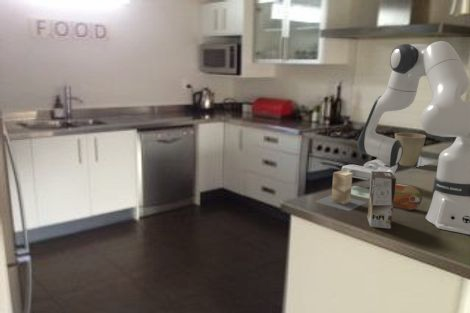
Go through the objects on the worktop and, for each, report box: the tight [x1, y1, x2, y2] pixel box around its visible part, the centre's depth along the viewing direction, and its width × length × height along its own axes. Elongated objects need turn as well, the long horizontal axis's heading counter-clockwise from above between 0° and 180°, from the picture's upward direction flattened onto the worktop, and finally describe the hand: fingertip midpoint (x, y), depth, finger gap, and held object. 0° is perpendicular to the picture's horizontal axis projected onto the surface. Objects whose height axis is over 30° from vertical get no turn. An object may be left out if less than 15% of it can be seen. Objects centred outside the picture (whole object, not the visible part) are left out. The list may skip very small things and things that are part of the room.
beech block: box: [331, 170, 353, 205], centre depth 150 cm, size 5×5×11 cm
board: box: [351, 185, 370, 200], centre depth 163 cm, size 14×12×1 cm
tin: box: [393, 183, 423, 211], centre depth 147 cm, size 15×3×8 cm, turn 57°
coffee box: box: [366, 171, 397, 230], centre depth 130 cm, size 9×6×16 cm
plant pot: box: [394, 132, 427, 167], centre depth 214 cm, size 15×15×16 cm
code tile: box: [314, 194, 368, 212], centre depth 152 cm, size 14×14×1 cm
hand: (358, 177), depth 160 cm, fingers open, 8 cm apart
